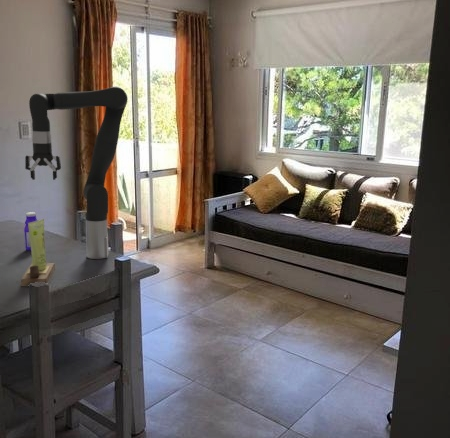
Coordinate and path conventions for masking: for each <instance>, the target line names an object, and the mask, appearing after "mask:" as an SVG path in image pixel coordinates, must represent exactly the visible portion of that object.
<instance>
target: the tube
mask: <svg viewBox="0 0 450 438" xmlns="http://www.w3.org/2000/svg"><path fill="white" fill-rule="evenodd" d="M37 220H38V221H34V222H30V223H28V227H29V235H30V243H31V251H30V252H31V263H32V265H33V266H38V269H39V270H43V269H45V268H46V263H47V261H46V259H47V258H46V242H45V240H46V239H45V237H46V236H45V218H42V219H37Z"/></svg>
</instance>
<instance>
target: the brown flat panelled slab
mask: <svg viewBox="0 0 450 438" xmlns="http://www.w3.org/2000/svg"><path fill="white" fill-rule="evenodd" d="M55 271H56V263H55V262H46V268H45V269H43V270H39V269H38V266H33V265H32V262H31V263H30V265H29V266H28V268H27V269H26V271H24V272H25V273H24V274H23V275H22V277H21V279H20V285H21V286H28V285H29V284H30V283H35V282H45V283H48V284H49V282H50V281H51V279H52V276H53V275H54V272H55Z"/></svg>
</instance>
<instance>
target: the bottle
mask: <svg viewBox="0 0 450 438" xmlns="http://www.w3.org/2000/svg"><path fill="white" fill-rule="evenodd" d="M25 215H26V217H25V221H24V224H25V225H24V229H23V230H24V231H23V232H24V241H25V242H24V244H25V247H24V248H25V250H26V251H28V252H31V243H30V235H29V227H28V223H30V222H34V221H38V220H39V219H37V214H36V212H34V211H29V212H26V213H25Z"/></svg>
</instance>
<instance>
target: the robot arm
mask: <svg viewBox="0 0 450 438" xmlns="http://www.w3.org/2000/svg"><path fill="white" fill-rule="evenodd" d="M28 102H29V103H28V104H29V105H28V106H29V112H30V116H31V121H32V122H31V124H32V125H31V127H32V135H31V138H32V139H31V142H32V154H33V155H29V154H27V155H25V157H24V158H25V159H24V160H25V166H24V167H25V170H28V171H30V173H29V174H30V179H32V180H34V181H35V180H36V172H35V169H36V168H37V166H39V167H42V166H44V167H47V166H49V168H50V169H51V170H52V179H53V181H56V179H58V173H57V172H58V171H59V170H61V169H62V165H61V157H60V155H53V151H52V150H53V149H52V147H53V146H52V134H51V123H50V122H51V121H50V119H49V117H48V111H52V110H61V111H62V110H76V109H83V108H88V107H89V108H91V107H105V110H104V117H103V120H102V123H101V124H100V127H99V129H98V131H97V135H96V137H95V141H94V142H95V143H94V146H93V152H92V156H91V163H90V169H89V172H88V175H87V179H86V182H85V185H84V187H83V197H84V199H85V200H86V212H85V215H84V216H85V242H86V244H85V245H86V258H88V259H92V260H101V259H107V258H109V235H108V213H109V192H108V189H107V187H105V183H106V176H107V173H108V170H109V168H110V166H111V164H112V162H113V160H114V158H115V156H116V151H117V148H118V143H119V137H120V127H121V122H122V118H123V115H124V112H125V110H126V107H127V104H128V95H127V93H126V92H125V89H123V88H122V87H119V86H111V87H107V88H103V89H98V90H92V91H91V90H89V91H66V92H65V91H63V92H56V93H34V94H32V95H31V96H30V98H29V101H28ZM31 160H33V161H34V163H33V164H32V166H31V164H30V163H31V162H30V161H31ZM53 160H54V161H55V162H56V165H55V164H54V163H53V162H52V161H53Z"/></svg>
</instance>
